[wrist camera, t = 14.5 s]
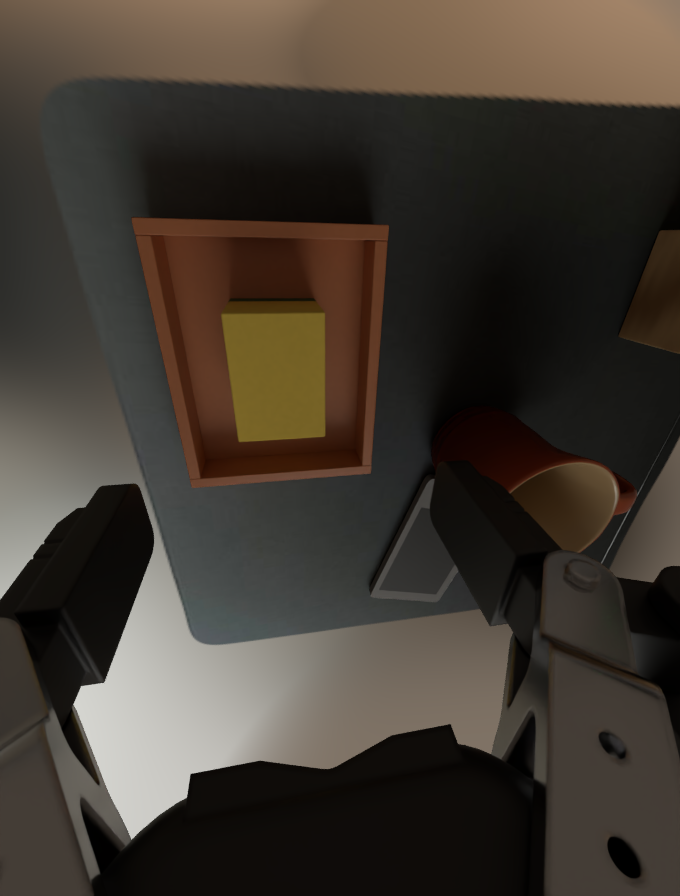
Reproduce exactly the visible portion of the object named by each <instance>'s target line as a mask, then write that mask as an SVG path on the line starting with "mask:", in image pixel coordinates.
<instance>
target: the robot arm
mask: <svg viewBox="0 0 680 896" xmlns="http://www.w3.org/2000/svg"><path fill="white" fill-rule="evenodd" d="M430 517H431V521H432V524H433V526H434V528H435V530H436V532H437V533H438V535H439V537H440V539H441V540H442V542H443V544H444V546H445V548H446V549H447V551H448V553H449V555H450V556H451V558H452V560H453V562H454V563H455V565H456V567H457V569H458V571H459V572H460V574H461V576H462V578H463V579H464V581H465V583H466V585H467V587H468V588H469V590H470V592H471V594H472V595H473V597H474V599H475V601H476V602H477V604H478V606H479V608H480V610H481V611H482V613H483V615H484V616H485V618H486V620H487V622H488V624H489V625H490V626H496V625H502V624H509V626H510V627H511V629H512V631H513V634H512V637H511V639H510V647H509V654H508V663H507V670H506V678H505V686H504V694H503V703H502V711H501V717H500V722H499V726H498V730H497V733H496V736H495V740H494V744H493V749H492V754H489V753H487V752H484V751H482V750H480V749H476V748H473V747H469V746H466V745H461V744H458V743H457V740H456V738H455V735H454V732H453V730H452V727H451V725H450V724H449V725H444V726H438V727H434V728H428V729H423V730H418V731H412V732H407V733H402V734H397V735H392V736H390V737H388V738H386V739H385V740H383V741H381V742H379V743H378V744H376V745H374V746H372V747H370V748H369V749H367V750H365V751H363V752H362V753H360V754H358V755H356V756H355V757H353V758H351V759H349V760H347V761H346V762H344V763H342V764H340V765H338V766H337V767H334V768H331V769H318V768H310V767H302V766H296V765H288V764H280V763H273V762H265V761H256V762H251V763H246V764H241V765H235V766H230V767H225V768H220V769H215V770H210V771H204V772H199V773H194V774H191V775H190V782H189V789H188V795H187V798H186V799H184V800H182V801H180V802H178V803H177V804H175V805H174V806H172V807H171V808H169V809H168V810H166V811H165V812H163V813H162V814H160V815H159V816H158V817H157V818H156V819H154V820H153V821H152V822H151V823H150V824H149V825H148V826H146V827H145V828H144V829H143V830H141V831H140V832H139V833H138V834H137V835H136V836H135V837H134V838H133V839H132V840H131V838H130V835H129V833H128V831H127V829H126V826H125V824H124V822H123V820H122V818H121V816H120V814H119V812H118V810H117V809H116V807H115V805H114V803H113V801H112V799H111V797H110V795H109V793H108V790H107V788H106V785H105V783H104V781H103V778H102V775H101V773H100V770H99V767H98V765H97V762H96V760H95V757H94V755H93V752H92V749H91V747H90V744H89V742H88V739H87V736H86V734H85V731H84V728H83V726H82V723H81V721H80V718H79V716H78V713H77V710H76V709H75V707H74V705H73V704H74V701H75V699H76V697H77V694H78V692H79V690H80V687H81V686H84V685H91V684H98V683H104V682H105V679H106V676H107V674H108V671H109V668H110V665H111V663H112V660H113V658H114V655H115V652H116V649H117V647H118V644H119V641H120V639H121V636H122V633H123V630H124V628H125V625H126V623H127V620H128V617H129V615H130V612H131V609H132V606H133V604H134V601H135V598H136V596H137V593H138V590H139V588H140V585H141V582H142V580H143V577H144V574H145V572H146V569H147V566H148V564H149V561H150V558H151V555H152V552H153V547H154V533H153V528H152V525H151V522H150V519H149V516H148V513H147V509H146V506H145V503H144V500H143V497H142V494H141V491H140V488H139V487H138V485H137V484H122V485H108V486H101V487H99V489H98V490H97V491H96V493H95V494H94V496H93V497H92V498H91V500H90V502H89V503H88V504H87V506H86V507H85V508H77V509H76V510H75V511H73V512H72V513H70V514H69V515H68V516H66V517H65V518H64V519H63V520H61V521H60V522H58V523H57V524H56V526H55V527H54V528H53V530H52V531H51V532H50V534H49V535H48V537H47V538H46V539H45V541H44V542H45V543H44V544H42V545H41V546H40V547H39V549H38V550H37V551H36V553H35V554H34V555H33V559H32V560H30V561H29V562H28V563H27V565H26V566H25V567H24V569H23V570H22V571H21V573H20V574H19V576H18V577H17V578H16V580H15V581H14V582H13V584H12V585H11V586H10V588H9V589H8V590H7V592H6V593H5V594H4V596H3V597H2V598H1V600H0V896H680V566H670V567H666V568H664V569H663V570H661V572H660V573H659V575H658V576H657V578H656V579H655V581H654V582H653V583H651V582H645V581H637V580H631V579H624V578H618V577H616V576H615V575H614V574H613V573H612V572H611V571H610V570H609V569H608V568H607V567H605V566H604V565H603V564H601V563H600V562H598V561H596V560H595V559H593V558H591V557H589V556H587V555H584V554H581V553H578V552H574V551H568V550H562V549H561V547H560V546H559V545H558V544H557V543H556V542H555V541H554V540H553V539H552V538H551V537H550V536H549V535H548V534H547V533H546V531H545V530H544V529H543V528H542V527H541V526H540V525H539V524H538V523H537V522H536V521H535V520H534V519H533V518H532V516H531V515H530V514H529V513H528V512H527V511H526V512H525V511H524V508H523V507H522V506H521V505H520V504H519V503H518V501H515V498H514V497H513V496H512V495H511V494H510V493H509V492H508V491H507V490H506V489H505V488H504V487H503V486H502V485H501V484H499V483H497V482H496V481H494V480H492V479H491V478H489V477H487V476H482V475H481V474H480V473H479V472H478V471H477V470H476V468H475V467H474V466H473V465H472V464H471V463H470V462H469V461H467V460H459V461H445V462H440V463H439V464H438V466H437V469H436V474H435V480H434V485H433V491H432V496H431V501H430Z"/></svg>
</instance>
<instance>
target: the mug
mask: <svg viewBox="0 0 680 896" xmlns="http://www.w3.org/2000/svg"><path fill="white" fill-rule="evenodd" d="M431 457H432V462H433V464H434V468H435V471H436V469H437V466H438V464H439V463H440V462H445V461H459V460H467V461H469V462H470V463H471V464H472V465H473V466H474V467H475V468H476V470H477V471H478V472H479V473H480V474H481V475H482V476H487V477H489V478H491V479H492V480H494V481H496V482H497V483H499V484H501V485H502V486H503V487H504V488H505V489H506V490H507V491H508V492H509V493H510V494H511V495H512V496H513V497H514V498H515V501H518V503H519V504H520V505H521V506H522V507H523V508H524V511H525V512H526V511H527V512H528V513H529V514H530V515H531V516H532V518H533V519H534V520H535V521H536V522H537V523H538V524H539V525H540V526H541V527H542V528H543V529H544V530H545V531H546V533H547V534H548V535H549V536H550V537H551V538H552V539H553V540H554V541H555V542H556V543H557V544H558V545H559V546H560V547H561V549H562V550H568V551H574V552H578V553H580V552H581V551H583V550H584V549H585V548H587V547H588V546H589V545H590V544H591V543H593V542H594V541H595V540H596V539H597V538H598V537H599V536H600V535H601V533H602V532H603V531H604V529H605V528H606V527H607V525H608V524H609V522H610V521H611V519H612V517H613V515H618V514H622V513H625V512H627V511H628V510H629V509H630V508H631V507H632V506H633V504H634V502H635V500H636V497H637V491H636V489H635V487H634V486H633V485H632V484H631V483H630V482H628V481H627V480H626V479H624V478H623V477H621V476H620V475H618V474H616V473H615V472H613V471H611V470H610V469H609V468H608V467H606V466H605V465H603V464H601V463H599V462H597V461H594V460H591V459H588V458H585V457H581V456H577V455H574V454H571V453H567V452H565V451H562V450H560V449H557V448H556V447H554V446H552V445H551V444H550V443H548V442H547V441H546V440H545V439H544V438H542V437H541V436H540V435H539V434H537V433H536V432H535V431H534V430H532V429H531V428H530V427H528V426H527V425H525V424H524V423H523V422H522V421H521V420H520V419H518V418H517V417H516V416H514V415H512V414H510V413H507V412H505V411H503V410H500V409H497V408H494V407H491V406H474V407H470V408H467V409H464V410H462V411H460V412H458V413H456V414H455V415H453V416H452V417H451V418H449V419H448V420H447V421H446V422H445V423H444V424H443V425H442V426H441V428H440V429H439V431H438V432H437V434H436V436H435V438H434V441H433V444H432V449H431Z"/></svg>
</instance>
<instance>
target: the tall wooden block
mask: <svg viewBox="0 0 680 896" xmlns="http://www.w3.org/2000/svg"><path fill="white" fill-rule="evenodd" d="M619 337H621V338H625V339H628V340H632V341H635V342H639V343H643V344H646V345H650V346H653V347H657V348H661V349H664V350H668V351H672V352H675V353H679V354H680V230H661V231H660V232H659V234H658V236H657V239H656V241H655V244H654V246H653V249H652V252H651V254H650V257H649V259H648V262H647V264H646V267H645V269H644V272H643V275H642V277H641V280H640V282H639V285H638V287H637V290H636V292H635V295H634V298H633V300H632V303H631V305H630V308H629V310H628V313H627V315H626V318H625V320H624V323H623V326H622V328H621V331H620V333H619Z"/></svg>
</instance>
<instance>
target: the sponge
mask: <svg viewBox="0 0 680 896" xmlns="http://www.w3.org/2000/svg"><path fill="white" fill-rule="evenodd" d="M221 319H222V327H223V334H224V341H225V348H226V356H227V363H228V370H229V378H230V385H231V392H232V399H233V407H234V414H235V421H236V429H237V436H238V441H239V442H249V441H264V440H280V439H295V438H311V437H324V436H325V312H324V311H323V309H322V308H321V307H320V306H319V304H318V303H317V302H316V300H315V299H314V298H231V299H230V300H229V301H228V303H227V305H226V307H225V308H224V310H223V311H222V313H221Z"/></svg>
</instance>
